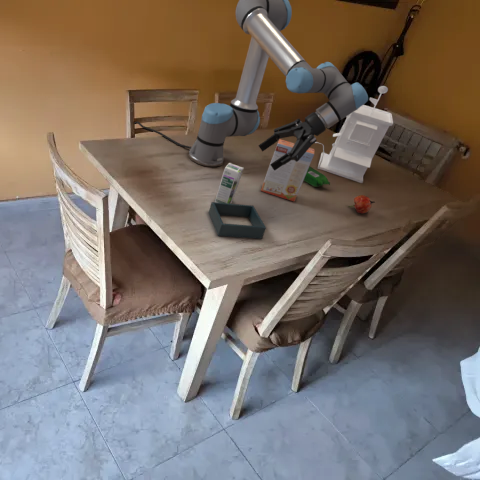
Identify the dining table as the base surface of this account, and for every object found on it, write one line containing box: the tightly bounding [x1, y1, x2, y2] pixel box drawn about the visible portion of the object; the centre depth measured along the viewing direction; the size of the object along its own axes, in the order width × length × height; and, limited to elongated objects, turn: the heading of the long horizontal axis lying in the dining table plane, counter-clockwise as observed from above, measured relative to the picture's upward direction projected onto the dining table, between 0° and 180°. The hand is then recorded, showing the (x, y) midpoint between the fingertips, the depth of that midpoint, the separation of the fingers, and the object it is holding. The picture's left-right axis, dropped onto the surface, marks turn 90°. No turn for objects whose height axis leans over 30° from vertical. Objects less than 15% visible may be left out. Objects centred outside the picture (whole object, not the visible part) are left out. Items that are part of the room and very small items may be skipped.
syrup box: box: [214, 162, 244, 204], centre depth 155 cm, size 6×6×14 cm
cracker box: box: [260, 138, 316, 202], centre depth 167 cm, size 14×6×21 cm, turn 71°
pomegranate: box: [348, 194, 376, 214], centre depth 172 cm, size 7×7×10 cm
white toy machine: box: [314, 85, 394, 184], centre depth 197 cm, size 24×28×40 cm
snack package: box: [303, 165, 331, 188], centre depth 187 cm, size 7×16×5 cm, turn 36°
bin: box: [208, 201, 267, 240], centre depth 146 cm, size 16×14×4 cm
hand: (266, 157), depth 151 cm, fingers open, 13 cm apart
